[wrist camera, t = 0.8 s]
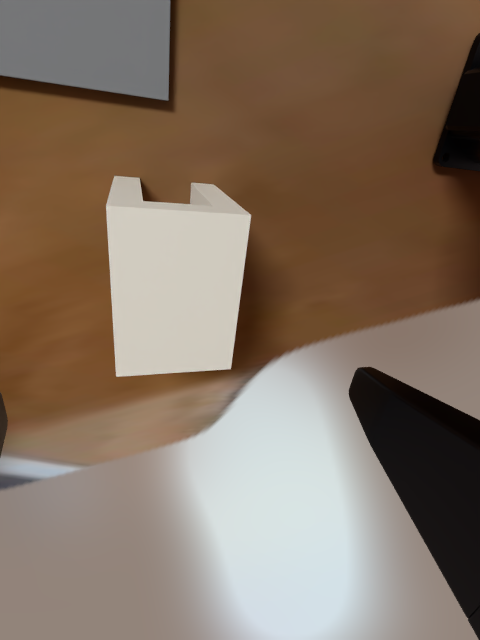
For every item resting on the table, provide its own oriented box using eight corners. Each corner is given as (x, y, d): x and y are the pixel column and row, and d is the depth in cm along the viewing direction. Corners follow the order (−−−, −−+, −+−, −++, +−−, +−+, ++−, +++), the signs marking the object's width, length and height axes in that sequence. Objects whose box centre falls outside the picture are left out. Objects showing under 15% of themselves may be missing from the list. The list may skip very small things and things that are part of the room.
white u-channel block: (213, 184, 19) (251, 215, 13) (204, 302, 22) (230, 369, 16) (114, 175, 17) (106, 205, 12) (120, 302, 21) (116, 376, 15)
